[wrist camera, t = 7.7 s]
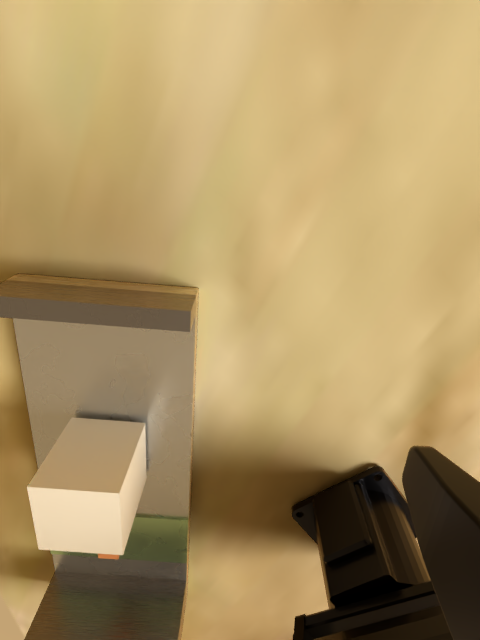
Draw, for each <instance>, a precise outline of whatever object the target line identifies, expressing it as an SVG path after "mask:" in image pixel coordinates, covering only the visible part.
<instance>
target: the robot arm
mask: <svg viewBox="0 0 480 640" xmlns="http://www.w3.org/2000/svg"><path fill="white" fill-rule="evenodd" d="M378 474H379V475H378ZM375 475H377V476H375ZM402 482H403V487H404V491H405V495H406V499H407V500H406V499H405V497H404V496H403V495H402V493H401V492H400V491H399V489H398V488H397V487H396V485H395V484H394V483H393V481H392V480H391V479H390V477H389V476H388V475H387V473H386V472H385V471H384V469H383V468H382V467H379V466H378V467H372V468H370V469H368V470H366V471H364V472H362V473H360V474H358V475H356V476H354V477H351V478H349V479H347V480H345V481H343V482H341V483H339V484H337V485H335V486H333V487H331V488H329V489H327V490H325V491H322V492H320V493H318V494H316V495H314V496H312V497H310V498H308V499H306V500H304V501H302V502H300V503H298V504H296V505H294V506H293V507H292V509H291V511H292V517H293V518H294V519H295V520H296V522H297V523H298V524H299V525H300V526H301V527H302V528H303V529H304V530H305V531H306V533H307V534H308V535H309V536H310V537H311V538H312V539H313V540H314V541H315V542H316V543H317V545H318V548H319V554H320V560H321V566H322V571H323V577H324V583H325V589H326V595H327V600H328V606H329V609H328V610H325V611H321V612H318V613H314V614H311V615H307V616H306V615H305V614H303V615H300V616H296V617H295V626H294V634H293V640H480V482H479V481H477V480H476V479H475V478H473V477H472V476H471V475H469V474H468V473H467V472H465V471H464V470H463V469H461V468H460V467H458V466H457V465H456V464H454V463H453V462H452V461H450V460H449V459H448V458H446V457H445V456H444V455H442V454H441V453H440V452H438V451H437V450H436V449H434V448H433V447H430V446H412V447H411V448H410V450H409V453H408V456H407V460H406V464H405V467H404V471H403V476H402ZM415 538H417V540H418V543H417V541H416V539H415ZM418 544H419V546H418ZM419 547H420V548H419Z"/></svg>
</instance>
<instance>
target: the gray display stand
mask: <svg viewBox="0 0 480 640" xmlns="http://www.w3.org/2000/svg"><path fill="white" fill-rule="evenodd" d="M198 295H199V288H192V287H179V286H167V285H154V284H142V283H129V282H117V281H104V280H91V279H79V278H66V277H54V276H41V275H29V274H16V275H14V276H12V277H11V278H9V279H7V280H5V281H4V282H2V283H0V317H3V318H13V323H14V329H15V335H16V341H17V347H18V353H19V359H20V365H21V371H22V377H23V383H24V389H25V395H26V401H27V407H28V413H29V418H30V424H31V430H32V436H33V442H34V448H35V454H36V460H37V466H38V469H39V467H40V466H41V464H42V463H43V461H44V460H45V458H46V456H47V455H48V453H49V452H50V450H51V449H52V447H53V446H54V444H55V442H56V441H57V439H58V438H59V436H60V435H61V433H62V432H63V430H64V428H65V427H66V425H67V424H68V422H69V421H70V419H71V418H72V417H73V418H87V419H100V420H113V421H127V422H140V423H145V432H146V476H147V478H146V482H145V485H144V488H143V491H142V495H141V498H140V501H139V505H138V508H137V511H136V514H135V518H134V521H133V524H132V528H131V531H130V534H129V538H128V541H127V544H126V547H125V551H124V554H123V555H120V556H119V559H104V558H98V554H96V553H82V552H68V551H54V550H50V553H51V554H52V556H53V562H54V568H55V573H54V575H53V577H52V579H51V582H50V584H49V586H48V588H47V591H46V593H45V595H44V597H43V599H42V602H41V604H40V606H39V608H38V611H37V613H36V615H35V617H34V619H33V622H32V624H31V626H30V628H29V630H28V633H27V635H26V637H25V639H24V640H181V635H182V628H183V621H184V613H185V606H186V599H187V586H188V560H189V533H190V507H191V480H192V454H193V427H194V401H195V374H196V348H197V321H198Z"/></svg>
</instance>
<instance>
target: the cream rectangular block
mask: <svg viewBox="0 0 480 640" xmlns="http://www.w3.org/2000/svg"><path fill="white" fill-rule="evenodd" d="M146 478H147V476H146V432H145V423H140V422H127V421H113V420H100V419H87V418H73V417H72V418H71V419H70V421H69V422H68V424H67V425H66V427H65V428H64V430H63V432H62V433H61V435H60V436H59V438H58V439H57V441H56V442H55V444H54V446H53V447H52V449H51V450H50V452H49V453H48V455H47V456H46V458H45V460H44V461H43V463H42V464H41V466H40V467H39V469H38V470H37V472H36V474H35V475H34V477H33V478H32V480H31V481H30V483H29V484H28V486H27V490H28V495H29V500H30V506H31V511H32V517H33V522H34V527H35V533H36V538H37V543H38V549H39V550H54V551H68V552H82V553H96V554H98V558H104V559H119V556H120V555H123V554H124V551H125V547H126V544H127V541H128V538H129V534H130V531H131V528H132V524H133V521H134V518H135V514H136V511H137V508H138V505H139V501H140V498H141V495H142V491H143V488H144V485H145V482H146Z"/></svg>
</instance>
